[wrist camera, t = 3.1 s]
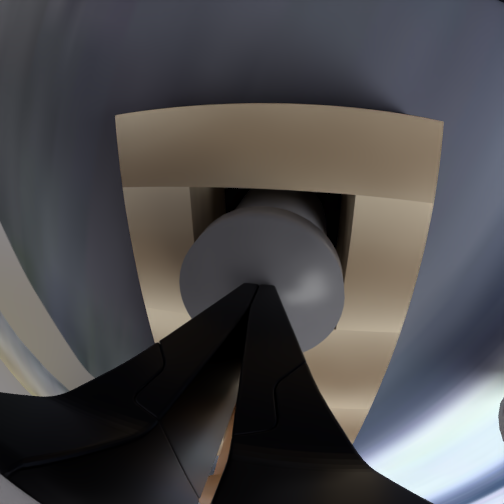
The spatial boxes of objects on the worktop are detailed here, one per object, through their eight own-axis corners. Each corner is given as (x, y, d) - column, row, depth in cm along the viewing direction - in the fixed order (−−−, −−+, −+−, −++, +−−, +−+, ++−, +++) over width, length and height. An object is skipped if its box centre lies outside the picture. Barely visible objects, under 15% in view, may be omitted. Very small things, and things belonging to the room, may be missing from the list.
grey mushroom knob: (338, 172, 12) (355, 226, 7) (329, 271, 14) (331, 364, 9) (227, 166, 13) (169, 215, 8) (231, 263, 15) (190, 347, 10)
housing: (167, 107, 12) (115, 115, 9) (406, 114, 11) (443, 121, 7) (206, 406, 21) (190, 449, 18) (340, 422, 20) (338, 468, 16)
